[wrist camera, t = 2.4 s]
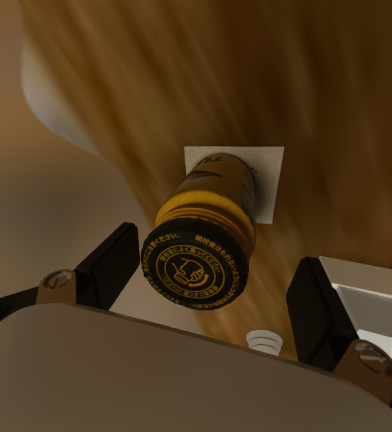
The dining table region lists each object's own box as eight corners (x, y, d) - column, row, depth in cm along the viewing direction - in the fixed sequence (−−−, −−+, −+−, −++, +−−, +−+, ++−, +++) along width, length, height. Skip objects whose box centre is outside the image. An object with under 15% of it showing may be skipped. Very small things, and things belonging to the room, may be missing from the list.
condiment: (184, 146, 18) (105, 204, 8) (284, 146, 17) (337, 221, 7) (189, 216, 22) (137, 316, 12) (271, 222, 20) (293, 346, 10)
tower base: (318, 253, 21) (332, 282, 18) (429, 274, 20) (467, 310, 16) (289, 312, 26) (295, 343, 23) (375, 332, 25) (395, 369, 21)
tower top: (338, 285, 18) (359, 329, 14) (455, 313, 17) (509, 368, 13) (299, 340, 22) (308, 383, 19) (389, 365, 21) (415, 416, 18)
